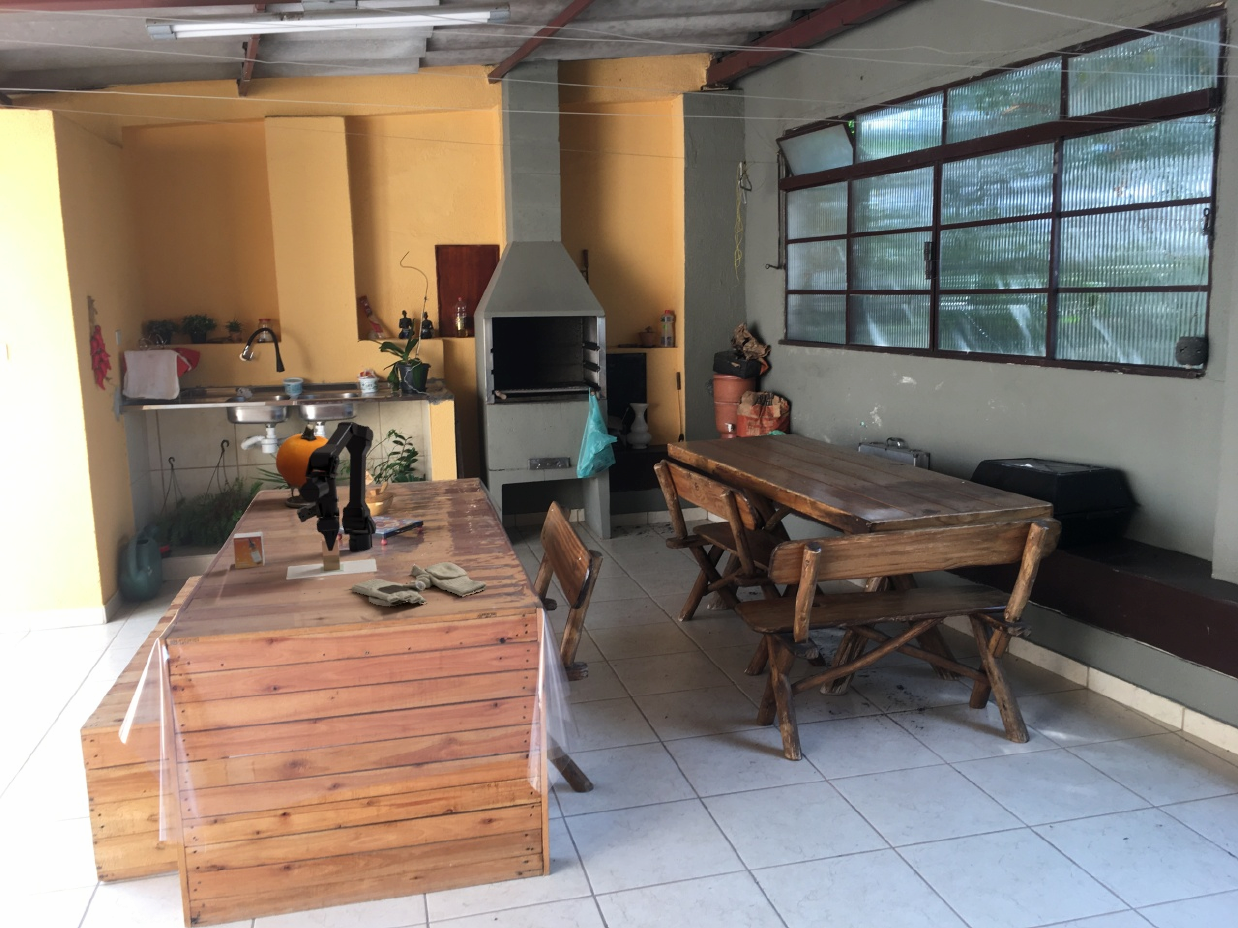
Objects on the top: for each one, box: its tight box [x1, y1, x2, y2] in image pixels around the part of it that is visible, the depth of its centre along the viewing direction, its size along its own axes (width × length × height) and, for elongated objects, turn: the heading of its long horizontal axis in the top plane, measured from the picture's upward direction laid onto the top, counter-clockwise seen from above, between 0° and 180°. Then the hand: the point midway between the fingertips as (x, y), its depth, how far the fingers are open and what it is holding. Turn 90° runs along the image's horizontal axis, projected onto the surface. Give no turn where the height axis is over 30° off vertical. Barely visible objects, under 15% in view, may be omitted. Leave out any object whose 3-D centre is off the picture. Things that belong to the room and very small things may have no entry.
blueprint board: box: [285, 558, 378, 580], centre depth 300 cm, size 25×13×1 cm, turn 105°
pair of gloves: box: [351, 561, 487, 608], centre depth 282 cm, size 30×26×5 cm
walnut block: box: [322, 554, 341, 571], centre depth 299 cm, size 4×4×4 cm
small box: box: [232, 531, 266, 570], centre depth 304 cm, size 8×6×10 cm
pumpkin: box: [275, 424, 340, 509], centre depth 386 cm, size 22×22×30 cm
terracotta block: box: [321, 535, 340, 557], centre depth 298 cm, size 4×4×4 cm
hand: (330, 546), depth 298 cm, fingers open, 9 cm apart
